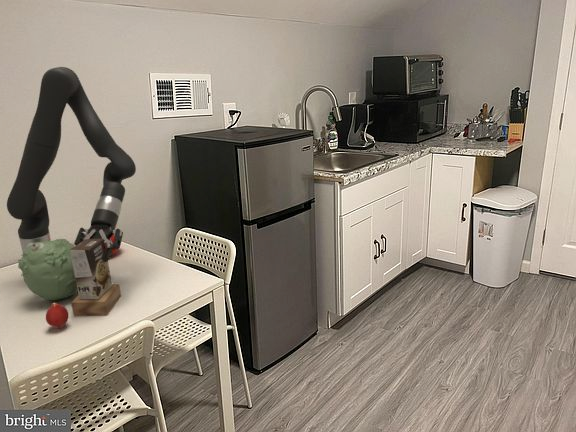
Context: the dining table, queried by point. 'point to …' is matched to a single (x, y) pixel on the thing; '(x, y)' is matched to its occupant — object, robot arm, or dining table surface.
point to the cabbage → (49, 269)
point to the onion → (57, 315)
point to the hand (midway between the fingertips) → (92, 260)
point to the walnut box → (97, 303)
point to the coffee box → (91, 269)
